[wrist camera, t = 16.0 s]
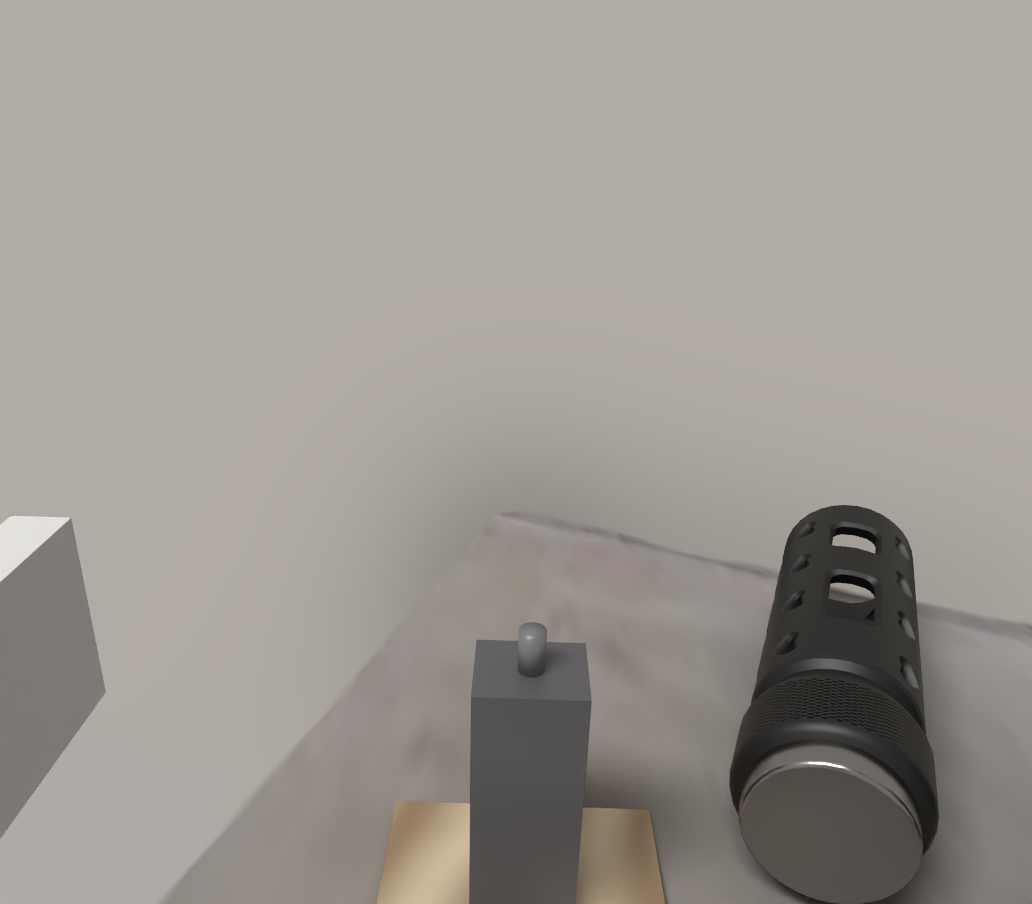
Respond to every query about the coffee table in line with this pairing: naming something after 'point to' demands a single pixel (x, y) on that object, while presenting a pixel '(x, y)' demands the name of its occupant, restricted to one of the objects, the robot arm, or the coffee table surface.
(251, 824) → the coffee table surface
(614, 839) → the wooden board
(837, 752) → the muzzle brake
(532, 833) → the grey rectangular pillar
